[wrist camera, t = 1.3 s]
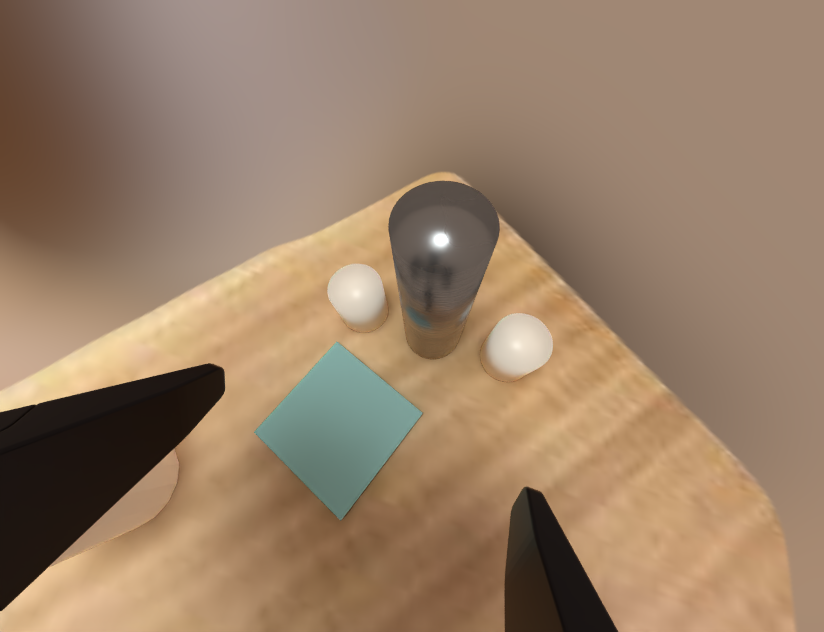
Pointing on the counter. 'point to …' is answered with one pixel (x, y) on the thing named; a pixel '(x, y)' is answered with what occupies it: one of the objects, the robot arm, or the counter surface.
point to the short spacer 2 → (516, 347)
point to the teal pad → (338, 428)
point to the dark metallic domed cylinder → (440, 260)
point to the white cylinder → (131, 507)
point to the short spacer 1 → (358, 297)
